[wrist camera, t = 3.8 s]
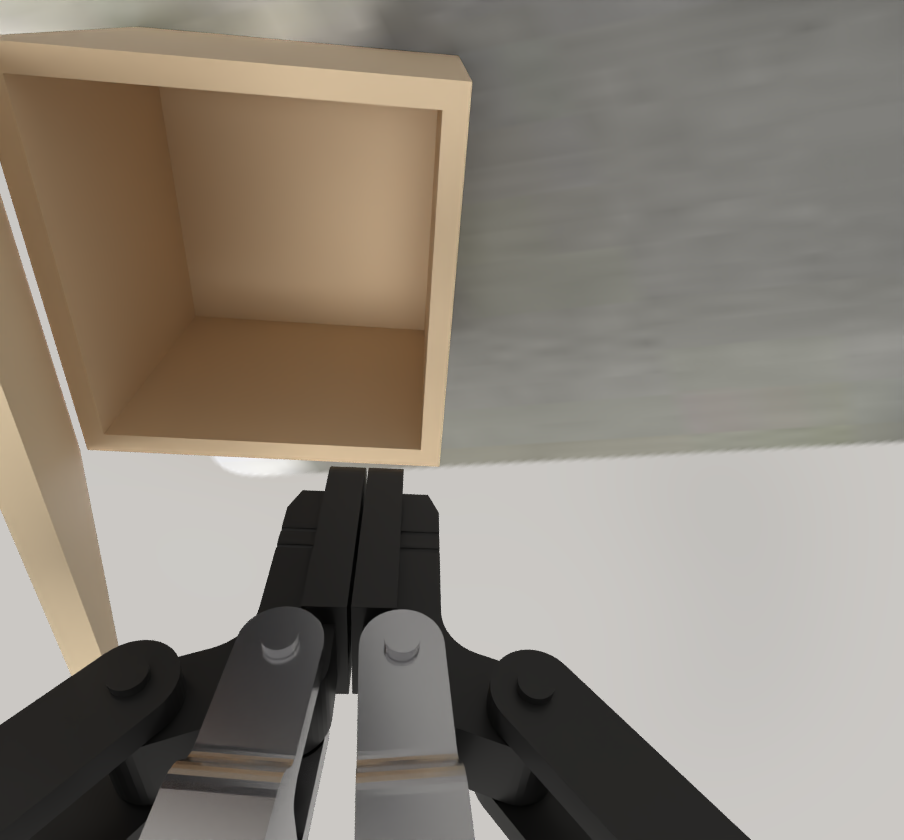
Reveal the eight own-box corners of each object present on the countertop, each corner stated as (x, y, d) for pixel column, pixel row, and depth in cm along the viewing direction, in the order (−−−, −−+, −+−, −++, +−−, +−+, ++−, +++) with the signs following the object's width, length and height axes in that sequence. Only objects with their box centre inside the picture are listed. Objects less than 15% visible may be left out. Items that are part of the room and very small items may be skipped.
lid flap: (-95, 128, 7) (-174, 129, 7) (140, 761, 15) (108, 776, 15) (-50, 35, 17) (-81, 34, 17) (79, 449, 25) (59, 454, 24)
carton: (458, 55, 28) (472, 81, 18) (437, 337, 36) (439, 466, 26) (137, 26, 27) (-38, 37, 17) (187, 322, 35) (87, 449, 25)
